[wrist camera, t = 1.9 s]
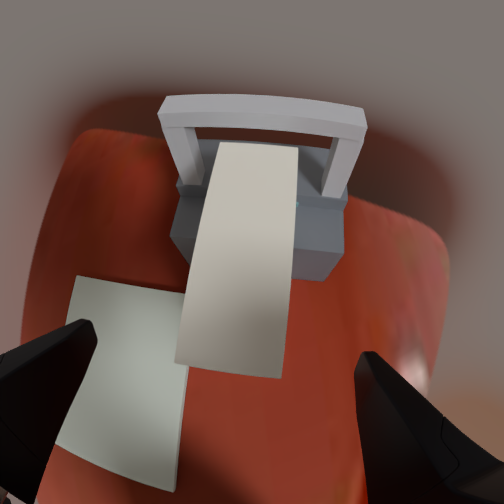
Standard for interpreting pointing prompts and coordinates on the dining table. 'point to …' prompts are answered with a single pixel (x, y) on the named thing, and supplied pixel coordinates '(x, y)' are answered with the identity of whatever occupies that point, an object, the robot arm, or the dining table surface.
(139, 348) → the mat
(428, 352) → the dining table surface
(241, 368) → the white rectangular block
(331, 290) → the dining table surface
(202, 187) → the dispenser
